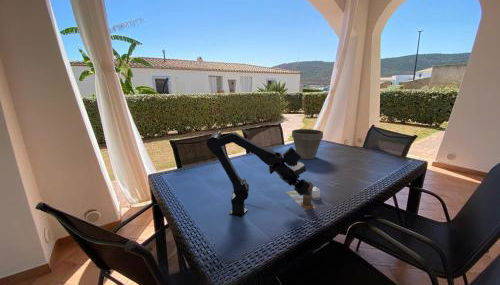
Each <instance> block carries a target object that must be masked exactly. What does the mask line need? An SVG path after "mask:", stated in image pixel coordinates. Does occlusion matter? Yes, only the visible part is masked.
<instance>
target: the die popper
mask: <svg viewBox="0 0 500 285" xmlns="http://www.w3.org/2000/svg"><path fill="white" fill-rule="evenodd" d="M321 198H322V196H321V189H319V188H318V187H317V186H313V189H312V199H311V201H319V200H321Z"/></svg>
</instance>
